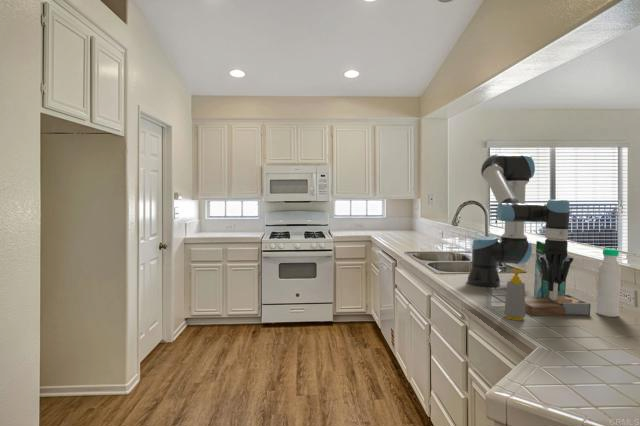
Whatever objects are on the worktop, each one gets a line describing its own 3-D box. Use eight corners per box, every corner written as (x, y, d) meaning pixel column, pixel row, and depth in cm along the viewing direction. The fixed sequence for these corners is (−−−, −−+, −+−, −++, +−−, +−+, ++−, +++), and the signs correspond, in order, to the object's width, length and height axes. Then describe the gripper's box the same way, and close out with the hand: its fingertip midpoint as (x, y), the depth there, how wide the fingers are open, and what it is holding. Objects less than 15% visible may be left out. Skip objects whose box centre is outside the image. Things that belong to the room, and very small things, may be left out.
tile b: (571, 297, 154) (573, 301, 154) (559, 302, 154) (561, 306, 154) (579, 300, 149) (581, 305, 149) (567, 306, 149) (569, 310, 149)
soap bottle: (518, 322, 137) (520, 272, 136) (500, 316, 142) (502, 268, 141) (529, 319, 140) (531, 270, 139) (510, 313, 146) (512, 266, 145)
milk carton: (564, 303, 161) (567, 243, 159) (541, 302, 163) (543, 243, 161) (556, 297, 170) (559, 241, 168) (533, 296, 171) (536, 240, 170)
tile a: (551, 300, 154) (551, 295, 154) (563, 300, 154) (564, 295, 154) (558, 303, 149) (559, 298, 149) (572, 304, 149) (572, 299, 149)
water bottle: (612, 318, 142) (616, 251, 141) (591, 313, 149) (595, 248, 147) (622, 315, 146) (626, 249, 144) (601, 310, 152) (605, 247, 150)
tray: (543, 304, 159) (544, 294, 158) (568, 305, 159) (568, 294, 158) (563, 314, 146) (563, 303, 145) (589, 315, 146) (590, 303, 145)
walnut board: (513, 303, 160) (513, 296, 160) (542, 304, 160) (542, 296, 159) (532, 315, 145) (533, 307, 145) (564, 315, 145) (565, 307, 144)
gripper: (545, 240, 147) (541, 301, 148) (579, 240, 147) (576, 302, 148) (534, 237, 154) (531, 296, 156) (567, 238, 154) (563, 296, 156)
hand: (553, 299), depth 152 cm, fingers closed
